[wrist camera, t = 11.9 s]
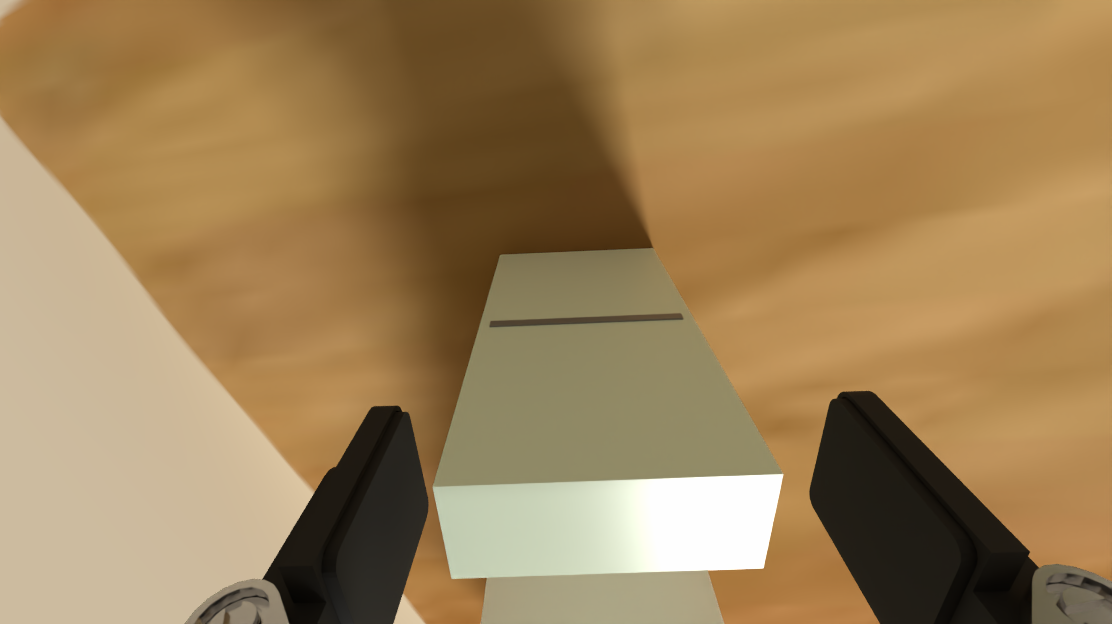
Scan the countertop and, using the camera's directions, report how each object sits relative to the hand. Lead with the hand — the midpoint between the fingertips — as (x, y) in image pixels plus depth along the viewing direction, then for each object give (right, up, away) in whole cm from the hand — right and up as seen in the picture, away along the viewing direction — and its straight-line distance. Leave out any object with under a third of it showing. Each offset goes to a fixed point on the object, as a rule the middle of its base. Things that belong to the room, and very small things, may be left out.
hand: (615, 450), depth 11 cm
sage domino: (-1, +4, +9) cm, 10 cm away
